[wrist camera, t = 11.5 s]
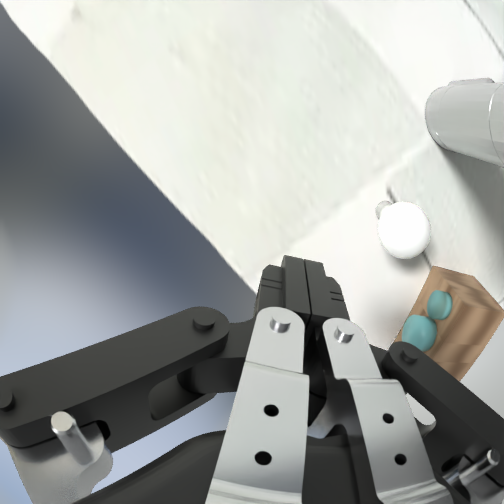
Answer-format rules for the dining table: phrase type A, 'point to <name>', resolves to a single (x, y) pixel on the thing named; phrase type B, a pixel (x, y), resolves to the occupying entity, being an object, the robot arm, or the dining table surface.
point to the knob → (420, 332)
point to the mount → (457, 318)
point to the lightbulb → (403, 229)
